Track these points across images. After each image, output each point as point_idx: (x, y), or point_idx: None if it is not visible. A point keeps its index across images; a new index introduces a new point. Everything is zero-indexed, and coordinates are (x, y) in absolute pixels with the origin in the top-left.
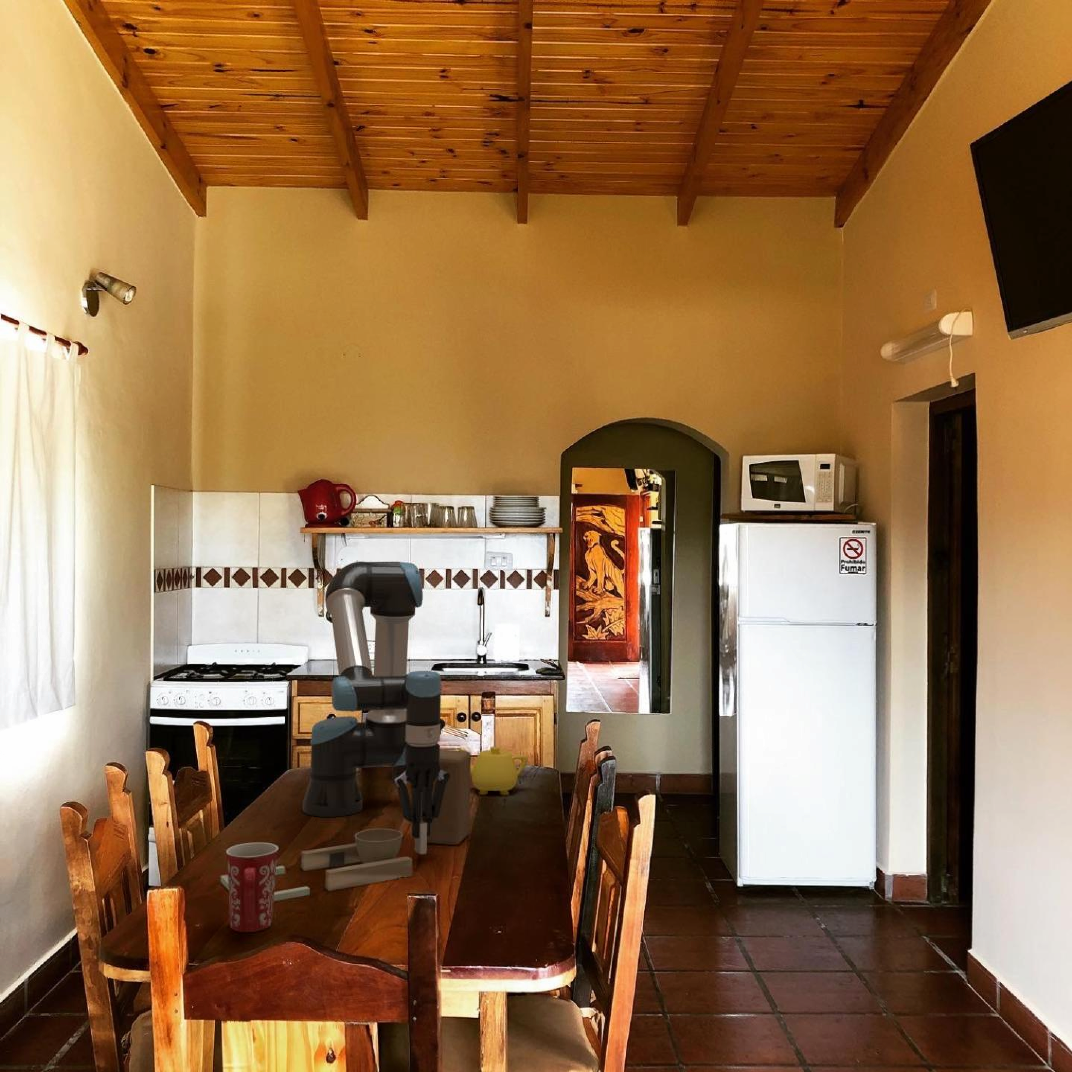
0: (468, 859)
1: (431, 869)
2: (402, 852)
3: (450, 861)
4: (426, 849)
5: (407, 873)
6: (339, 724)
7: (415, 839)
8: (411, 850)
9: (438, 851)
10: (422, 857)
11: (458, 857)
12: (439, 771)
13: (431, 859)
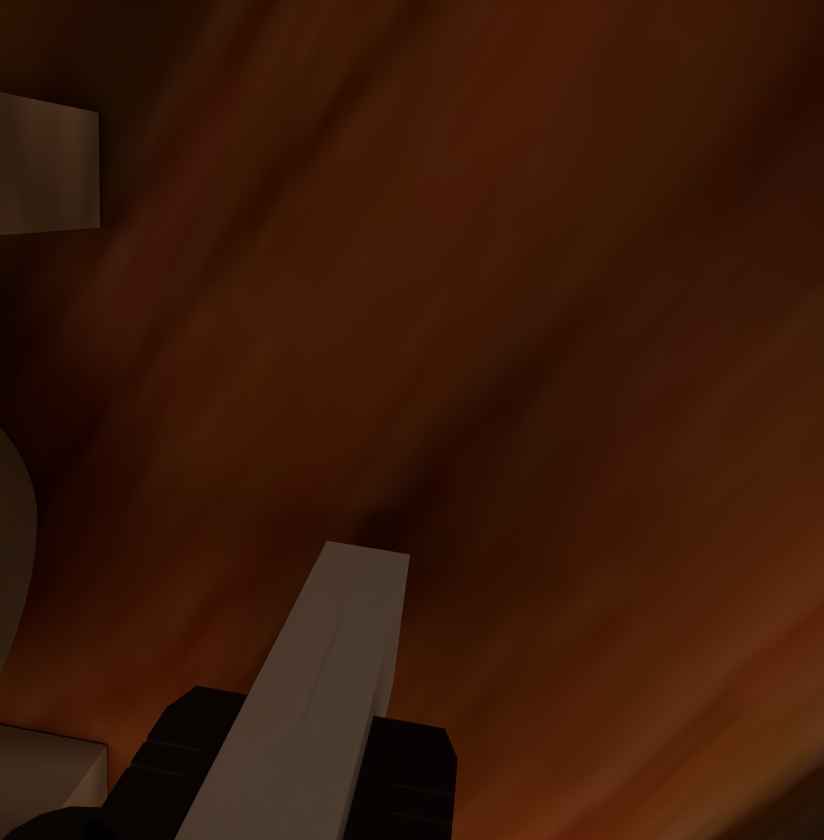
0: (796, 810)
1: None
2: (380, 179)
3: (612, 747)
4: (386, 710)
5: None
6: None
7: (286, 632)
8: (518, 177)
9: (753, 421)
10: (464, 483)
11: (767, 710)
12: None
13: (501, 591)
